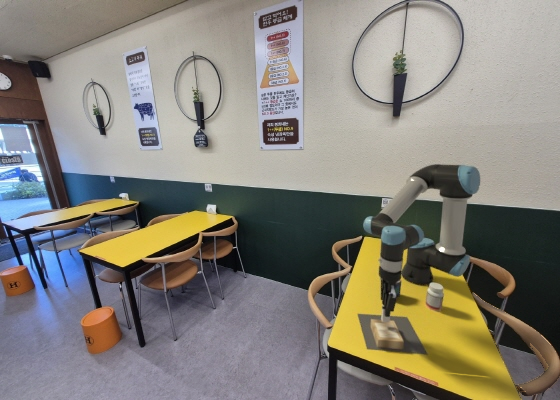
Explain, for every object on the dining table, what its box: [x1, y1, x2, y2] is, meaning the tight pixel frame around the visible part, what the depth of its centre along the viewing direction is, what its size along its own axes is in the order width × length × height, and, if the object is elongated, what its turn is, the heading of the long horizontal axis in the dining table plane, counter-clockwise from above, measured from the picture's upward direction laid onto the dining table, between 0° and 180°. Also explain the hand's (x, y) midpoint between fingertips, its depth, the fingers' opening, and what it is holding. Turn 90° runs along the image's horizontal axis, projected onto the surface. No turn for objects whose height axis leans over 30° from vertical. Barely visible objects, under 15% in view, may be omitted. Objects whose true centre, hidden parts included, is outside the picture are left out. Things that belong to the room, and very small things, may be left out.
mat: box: [357, 313, 428, 355], centre depth 89 cm, size 21×18×1 cm
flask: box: [395, 279, 402, 298], centre depth 108 cm, size 9×3×11 cm, turn 114°
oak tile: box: [371, 319, 404, 349], centre depth 87 cm, size 9×4×10 cm
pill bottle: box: [425, 282, 445, 312], centre depth 101 cm, size 6×6×11 cm
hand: (385, 320), depth 87 cm, fingers closed
